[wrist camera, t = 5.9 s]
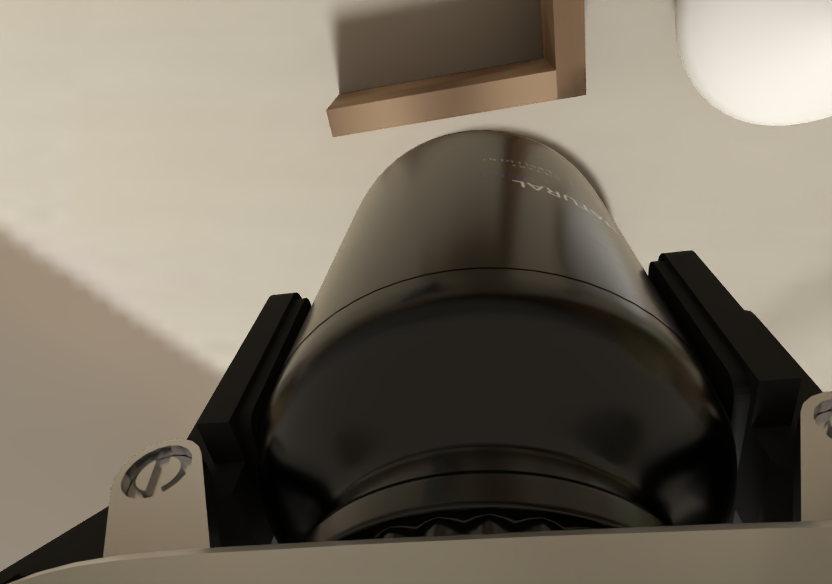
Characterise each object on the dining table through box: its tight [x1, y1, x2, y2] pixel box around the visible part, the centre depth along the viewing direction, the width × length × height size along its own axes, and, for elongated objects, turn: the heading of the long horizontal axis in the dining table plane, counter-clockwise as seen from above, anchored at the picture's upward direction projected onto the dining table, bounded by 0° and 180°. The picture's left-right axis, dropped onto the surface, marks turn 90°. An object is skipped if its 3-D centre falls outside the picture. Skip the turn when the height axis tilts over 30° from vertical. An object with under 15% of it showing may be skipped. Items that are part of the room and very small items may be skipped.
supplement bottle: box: [257, 130, 737, 544], centre depth 10 cm, size 7×7×12 cm
